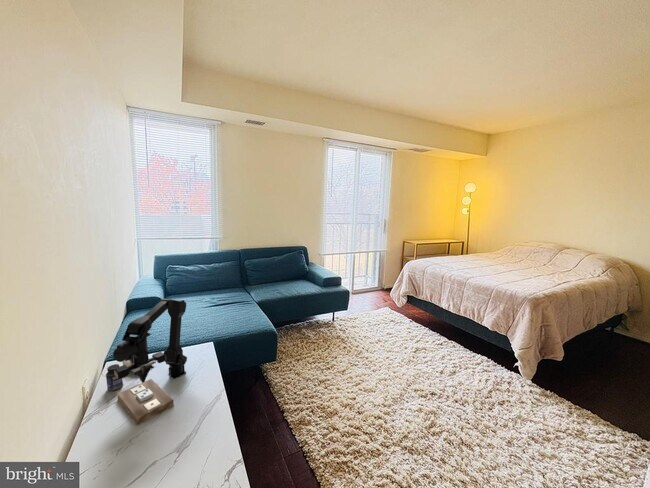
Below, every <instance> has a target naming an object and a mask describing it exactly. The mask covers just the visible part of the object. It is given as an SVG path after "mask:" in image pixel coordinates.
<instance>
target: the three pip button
mask: <svg viewBox="0 0 650 488" xmlns="http://www.w3.org/2000/svg"><path fill="white" fill-rule="evenodd" d="M136 397H137V400H138V401H139V402H140V403H141V402H143V401H145V400H147V399H149V398H151V397H153V393H152V391H151V390H150V389H146V390H144V391H142V392H140V393H138V394H136Z"/></svg>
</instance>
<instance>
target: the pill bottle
mask: <svg viewBox="0 0 650 488" xmlns="http://www.w3.org/2000/svg"><path fill="white" fill-rule="evenodd" d="M117 367H120V364H118V363H116V364H111V365H109V366H108V367H107V368H106V369H107V372H106V374H105V377H106V388H107V391H108V392H115V391H118V390H120V389H122V387H123V386H124V381H123V379H124V378H121V379H118V378H117V377H116V376H115V375H114V370H115V368H117Z"/></svg>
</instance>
